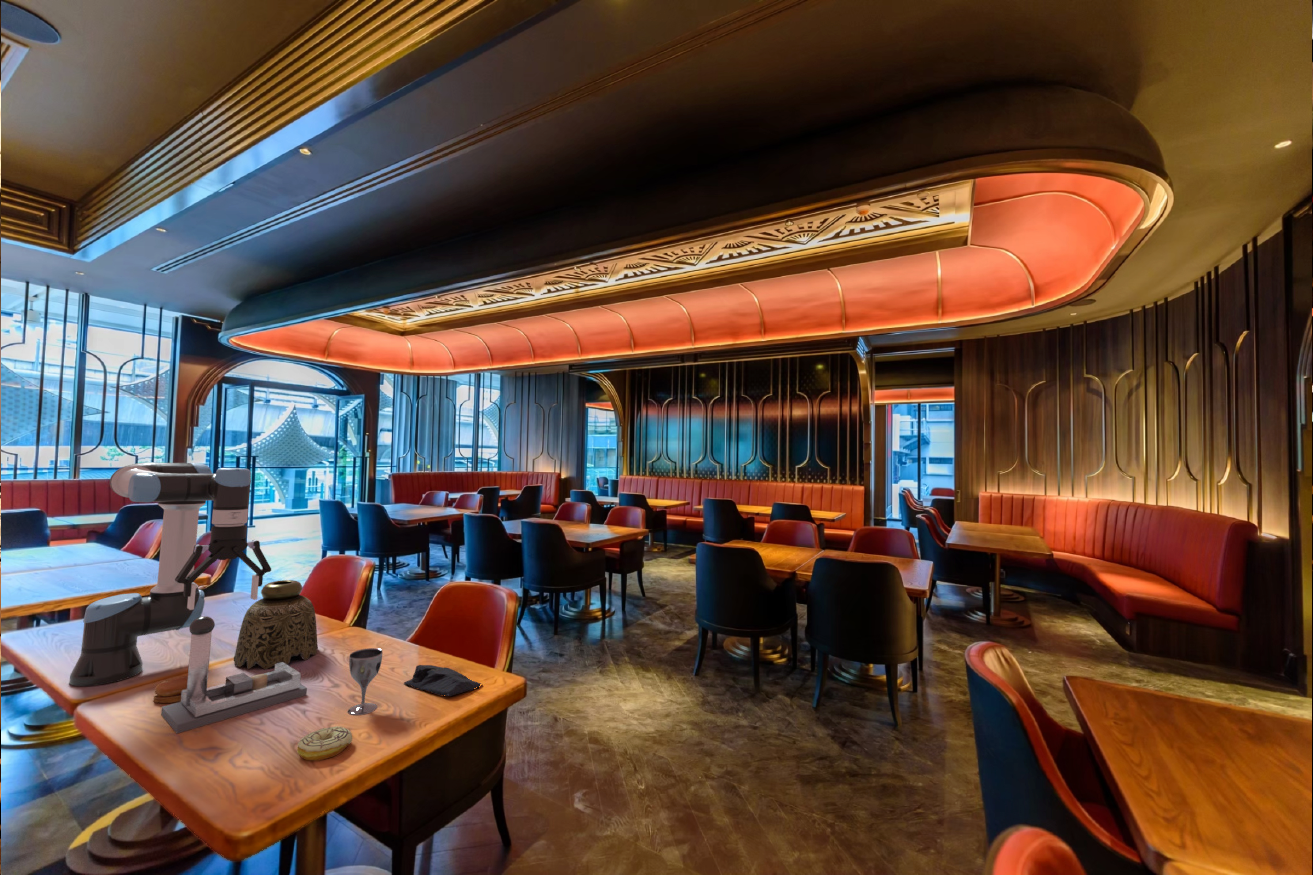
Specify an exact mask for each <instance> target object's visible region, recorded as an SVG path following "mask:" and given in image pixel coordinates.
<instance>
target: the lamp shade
mask: <svg viewBox="0 0 1313 875" xmlns="http://www.w3.org/2000/svg"><path fill="white" fill-rule="evenodd" d="M302 585H303V584H302V583H301V582H300V581H297V580H294V579H293V580H292V579H286V580H285V579H284V580H282V579H281V580H276V581H271V582H267V583H266V584H264V586H263V587H262V589H261V591H260V594H261V596H262V598H260V599H257V601H255V602H253V604H251V605H250V606H249V608H248V609H247V610H246V612H245V613H244V616H243V619H242V622H241V625H240V628H239V632H238V633H239V634H238V639H237V642H236V647H235V652H234V656H233V662H234V666H237V667H239V668H241V667H243V666H244V665H245V663H246V666H247V667H246V668H247V669H248V670H250V669H251V668H253V667H255V666H256V664H257V665H258V666H259V667H261V669H263V670H268V669H270V668H272V667H275V664H277V663H281V662H284V663H285V664H287V665H289V664H290V662H291V658H292V657H298V656H299V655H300V656H301V659H302V660H304V661H307V660H308V659H309V658H310V656H311V655H313V656H316V655H317V653H318V649H319V646H318V630H317V617H316V610H315V607H314V605H313V602H312V600H310V599H309V598H308V597H306V596H304V595H301V593H302V591H303V586H302Z"/></svg>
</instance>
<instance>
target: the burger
mask: <svg viewBox="0 0 1313 875" xmlns="http://www.w3.org/2000/svg"><path fill="white" fill-rule="evenodd" d="M187 680H188V675H187V676H180V677H175V678H170V679H169V678H168V679H165V680H164V681H161V682H160V683H158V684H157V685H156V686H155V688H154V693H155V695H154V696H153V700H152V701H153V702H154V703H161V704H174V703H178V702H181V693H182V690H186V689H187Z"/></svg>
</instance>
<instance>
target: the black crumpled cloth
mask: <svg viewBox="0 0 1313 875" xmlns="http://www.w3.org/2000/svg"><path fill="white" fill-rule="evenodd" d="M468 678H469V677H468ZM468 678H467V676H466V675H464V674H463V673H460V672H458V671H456V670H454V669H451V668H450V667H446V666H445V667H441V666H437V665H432V664H418V665H416V667H415V671H414V674H413V676H412V678H411V679H409V680H406V681H404V682H403V685H405V686H410V687H412V688H413V689H416V688H418V689H417V690H421V691H423V690H426V692H428V691H429V692H428V693H432V694H433V693H434V694H435V695H438V696H441V695H443V696H442V697H448V696H450V697H452V696H454V695H458V694H462V693H466V692H465V691H467V692H470V691H474V690H475V689H474V688H476V687H479V686H480V684H482V683H481V682H477V681H474V680H473V681H472V679H471V680H470V678H469V679H468ZM473 689H474V690H473ZM469 690H470V691H469ZM444 695H445V696H444Z"/></svg>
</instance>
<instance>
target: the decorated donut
mask: <svg viewBox="0 0 1313 875" xmlns="http://www.w3.org/2000/svg"><path fill="white" fill-rule="evenodd" d="M352 741H353V733H352V732H351V730H349V729H348V728H346V727H343V726H337V725H335V726H329V727H325V728H320V729H318V730H315V731H312V732H310V733H308V734H307V735H305V736H303V737H301V739H299V741H298V743H297V748H296V751H297V754H298V756H299V757H301V758H302V759H303V760H305V761H311V762H313V761H314V762H315V761H317V762H318V761H322V760H326V759H328V758H333V757H335V756H337V755H340V753H342V752H343V751H344V750H346V748H347V747H348V746H349V745H350V744H352Z"/></svg>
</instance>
